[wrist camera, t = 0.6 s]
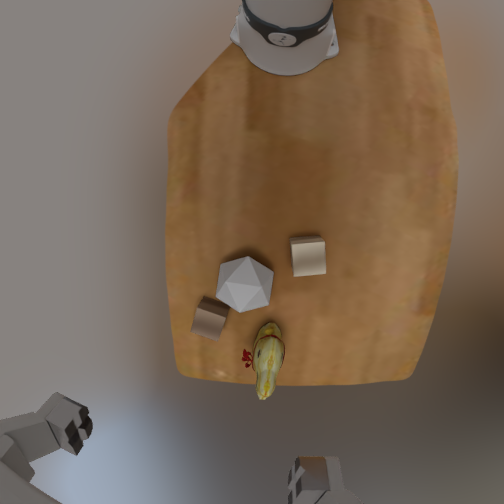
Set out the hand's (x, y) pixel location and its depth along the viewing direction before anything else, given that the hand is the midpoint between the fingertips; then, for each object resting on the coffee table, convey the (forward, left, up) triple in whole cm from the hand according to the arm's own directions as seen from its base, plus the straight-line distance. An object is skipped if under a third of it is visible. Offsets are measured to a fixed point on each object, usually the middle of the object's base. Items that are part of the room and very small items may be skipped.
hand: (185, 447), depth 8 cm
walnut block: (+15, -5, -40) cm, 43 cm away
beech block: (+1, +9, -40) cm, 41 cm away
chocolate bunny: (+19, +5, -40) cm, 44 cm away
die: (+7, 0, -40) cm, 41 cm away
